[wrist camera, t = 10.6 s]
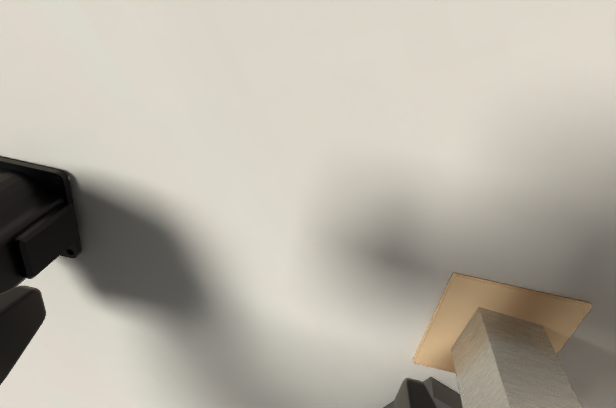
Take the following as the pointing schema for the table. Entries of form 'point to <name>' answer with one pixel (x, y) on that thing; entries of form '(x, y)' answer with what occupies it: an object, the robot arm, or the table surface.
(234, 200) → the table surface
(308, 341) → the table surface
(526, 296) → the cork pad
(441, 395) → the dark gray slotted board
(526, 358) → the gray block
